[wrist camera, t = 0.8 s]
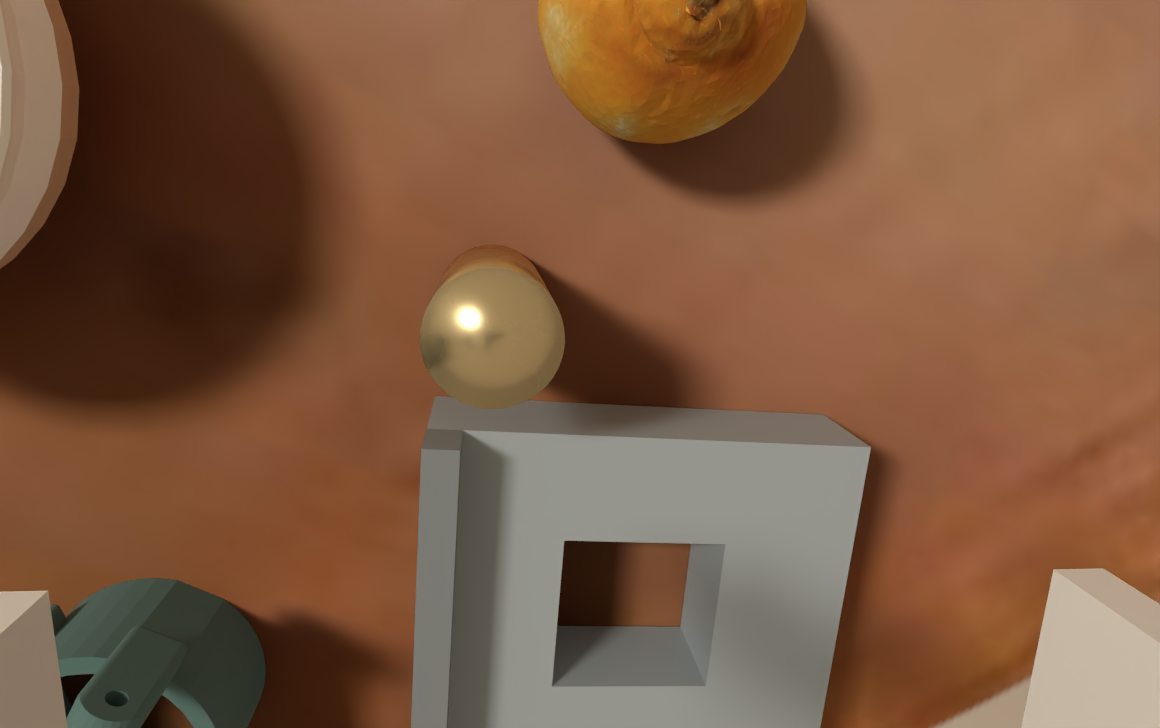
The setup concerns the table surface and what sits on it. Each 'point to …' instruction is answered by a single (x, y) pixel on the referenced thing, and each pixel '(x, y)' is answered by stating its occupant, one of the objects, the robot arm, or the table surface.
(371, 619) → the table surface
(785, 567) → the jig
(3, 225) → the bowl
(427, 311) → the brass cylinder
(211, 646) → the bracket
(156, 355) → the table surface
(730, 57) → the fruit
